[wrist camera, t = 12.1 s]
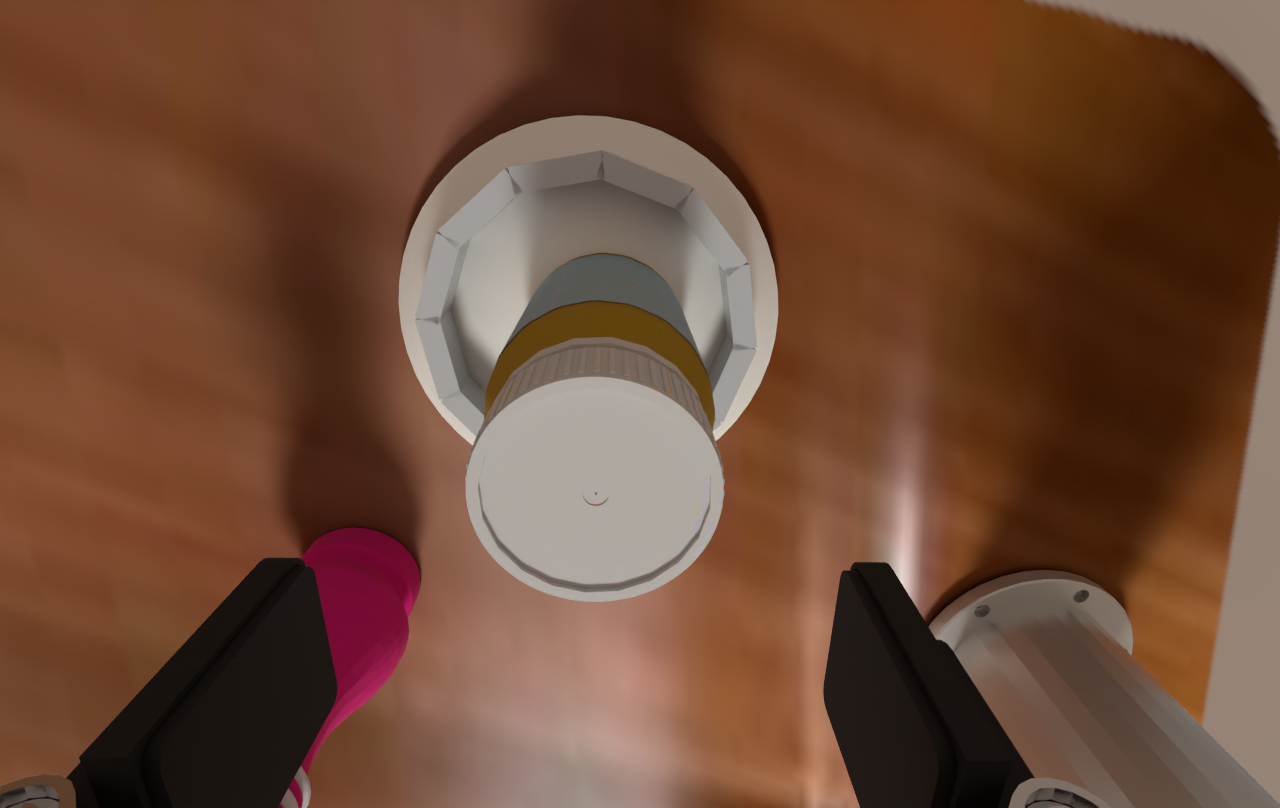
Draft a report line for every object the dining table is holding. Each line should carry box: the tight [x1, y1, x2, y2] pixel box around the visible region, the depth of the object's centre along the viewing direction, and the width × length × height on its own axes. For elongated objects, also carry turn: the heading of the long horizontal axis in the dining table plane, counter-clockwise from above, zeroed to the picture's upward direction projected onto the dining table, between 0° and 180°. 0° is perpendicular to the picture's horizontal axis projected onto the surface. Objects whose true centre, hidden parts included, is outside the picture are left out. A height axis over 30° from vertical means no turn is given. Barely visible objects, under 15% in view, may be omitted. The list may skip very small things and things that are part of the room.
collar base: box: [399, 115, 778, 445], centre depth 28 cm, size 17×17×3 cm
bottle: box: [465, 253, 725, 602], centre depth 22 cm, size 7×7×15 cm
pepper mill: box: [278, 527, 421, 808], centre depth 26 cm, size 7×7×20 cm
